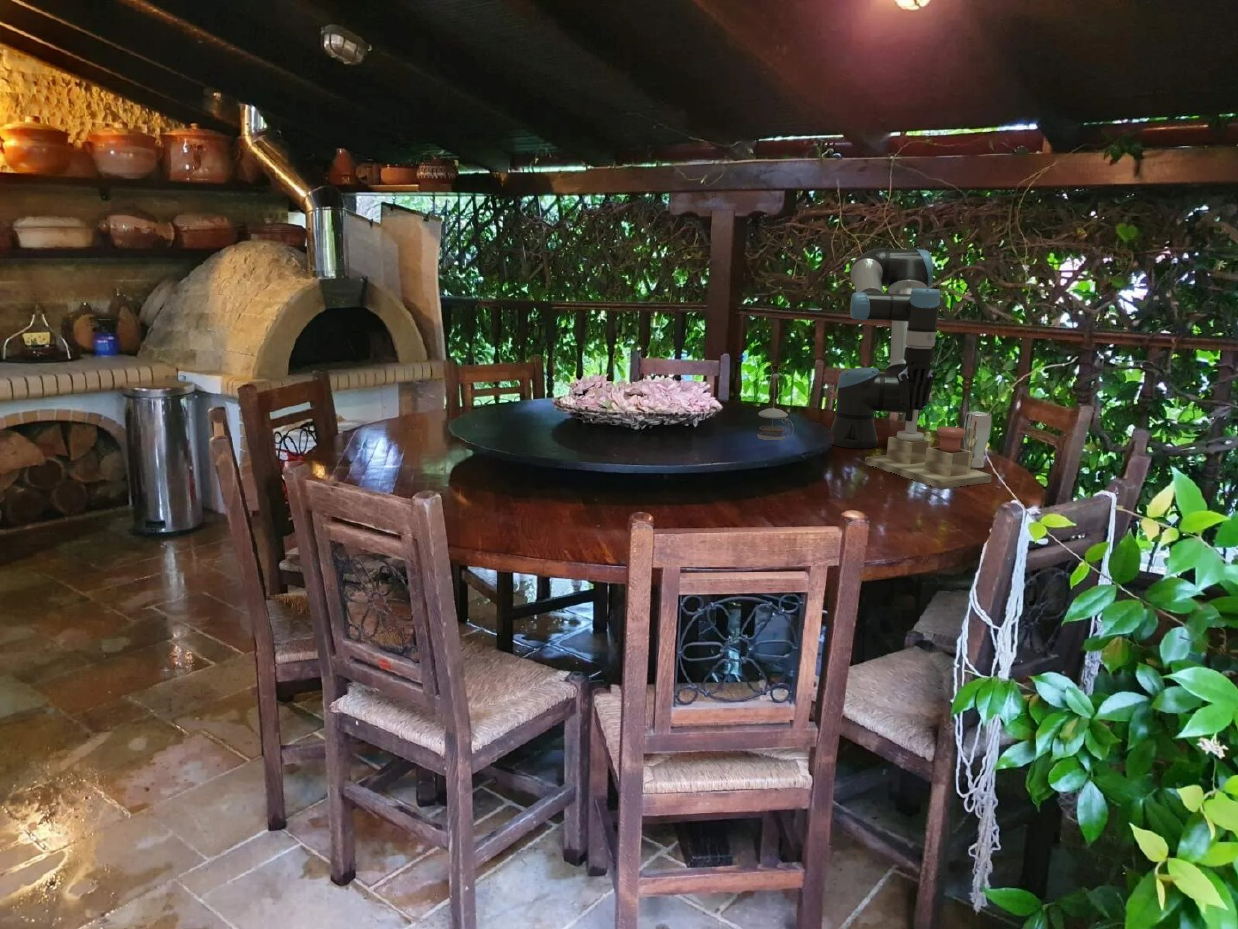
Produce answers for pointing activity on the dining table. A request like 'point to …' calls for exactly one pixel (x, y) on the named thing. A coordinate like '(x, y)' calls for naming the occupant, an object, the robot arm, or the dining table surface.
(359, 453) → the dining table surface
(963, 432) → the brown rounded piece
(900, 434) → the grey cylinder
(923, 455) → the stand
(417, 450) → the dining table surface
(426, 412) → the dining table surface
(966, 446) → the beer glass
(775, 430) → the french press
